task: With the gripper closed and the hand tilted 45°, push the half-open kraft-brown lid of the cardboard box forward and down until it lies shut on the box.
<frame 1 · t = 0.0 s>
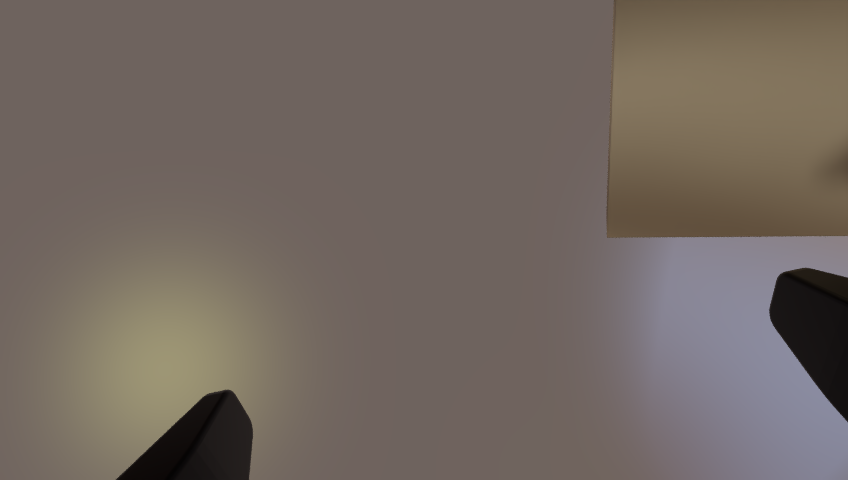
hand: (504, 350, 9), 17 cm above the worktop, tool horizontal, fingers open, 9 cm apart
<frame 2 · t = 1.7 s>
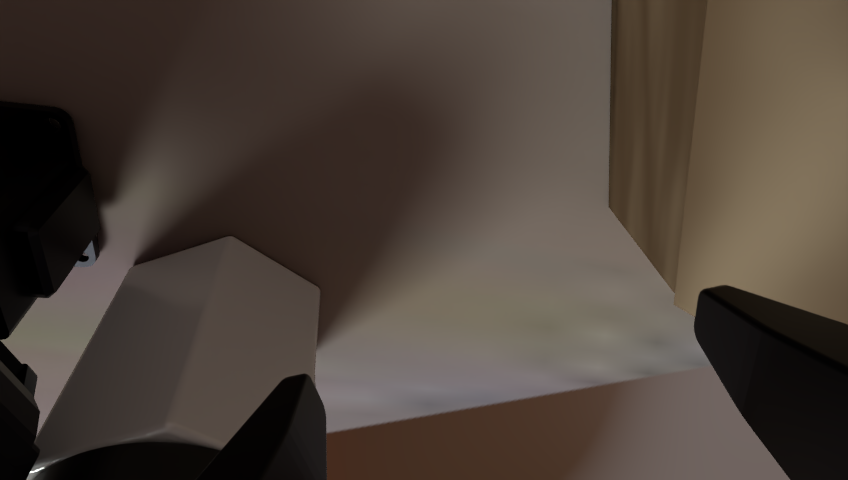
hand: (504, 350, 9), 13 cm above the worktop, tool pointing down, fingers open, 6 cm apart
jar: (228, 311, 25), on the worktop
cardboard box: (776, 7, 19), on the worktop
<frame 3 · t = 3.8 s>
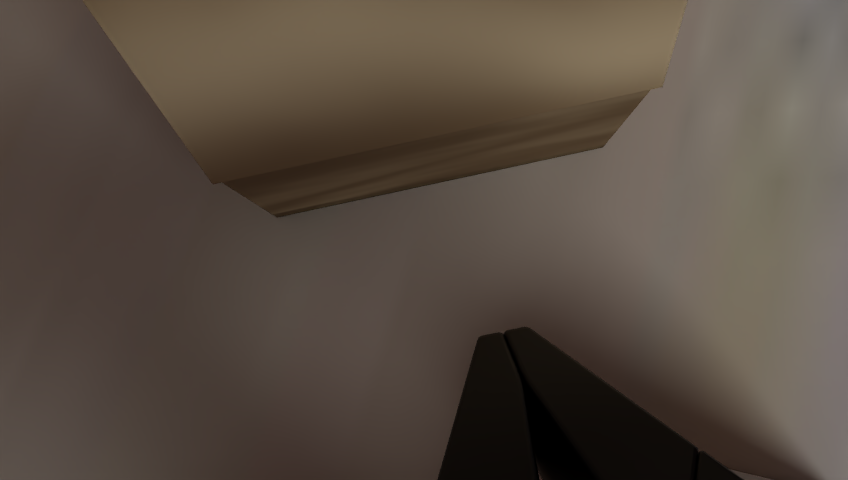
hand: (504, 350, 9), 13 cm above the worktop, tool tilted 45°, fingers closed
cardboard box: (410, 53, 24), on the worktop
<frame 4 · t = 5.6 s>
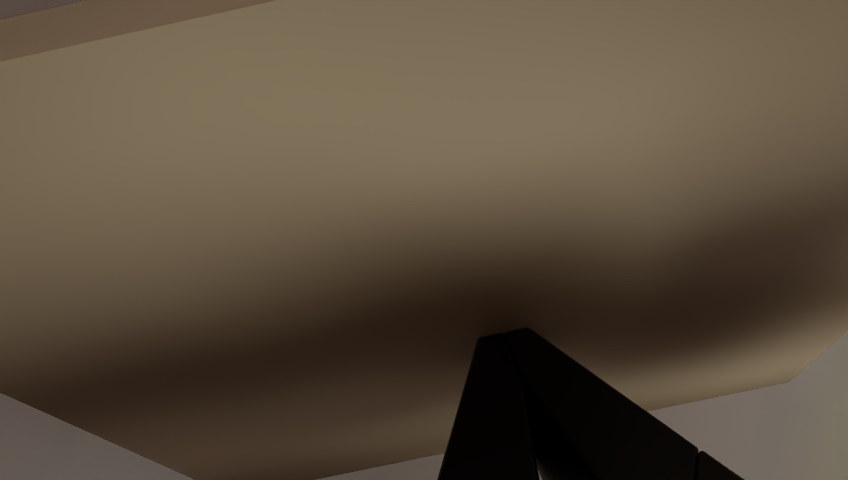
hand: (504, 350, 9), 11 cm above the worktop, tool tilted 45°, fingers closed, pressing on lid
lid: (499, 318, 9), point 12 cm above the worktop, hinge at 64.1°, touching gripper
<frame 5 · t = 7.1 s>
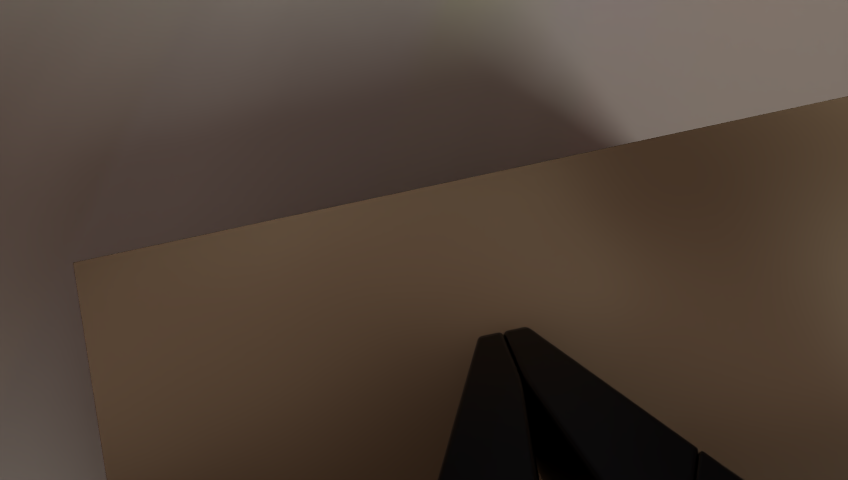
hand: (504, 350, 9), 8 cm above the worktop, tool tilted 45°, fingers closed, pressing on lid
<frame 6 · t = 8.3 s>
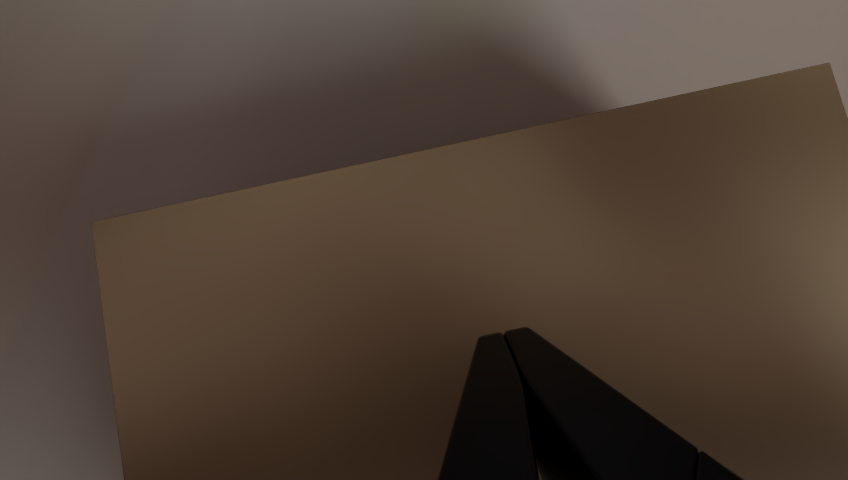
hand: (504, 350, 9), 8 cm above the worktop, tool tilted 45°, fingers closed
lid: (527, 469, 10), point 6 cm above the worktop, hinge at 2.1°
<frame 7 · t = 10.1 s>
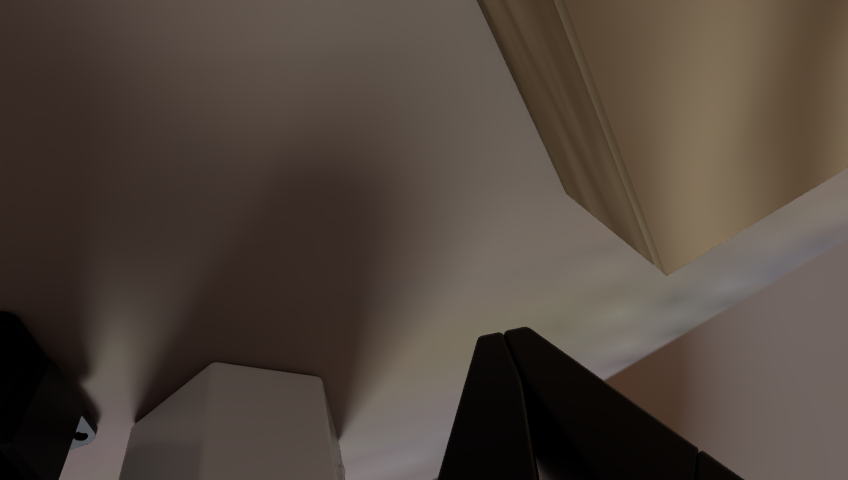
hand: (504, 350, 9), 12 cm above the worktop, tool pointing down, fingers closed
jar: (243, 430, 24), on the worktop
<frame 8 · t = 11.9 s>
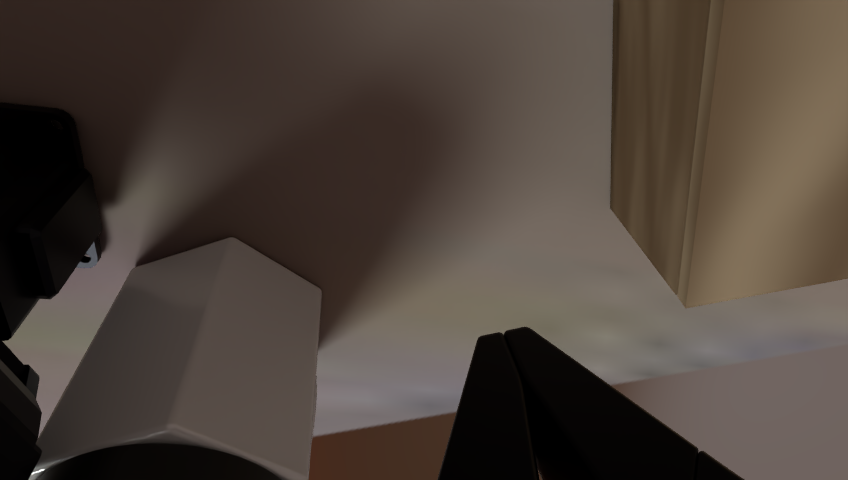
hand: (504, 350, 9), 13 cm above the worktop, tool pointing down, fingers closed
jar: (229, 312, 25), on the worktop
cardboard box: (778, 8, 19), on the worktop
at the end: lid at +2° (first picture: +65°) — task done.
